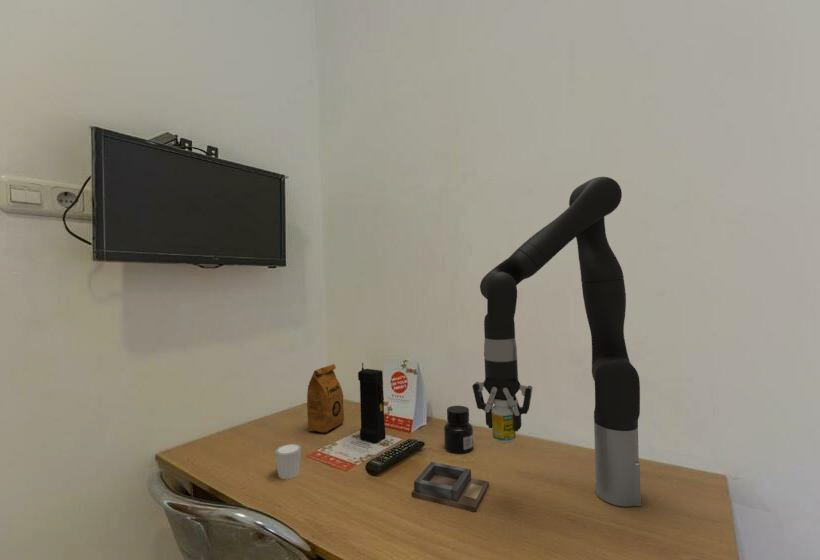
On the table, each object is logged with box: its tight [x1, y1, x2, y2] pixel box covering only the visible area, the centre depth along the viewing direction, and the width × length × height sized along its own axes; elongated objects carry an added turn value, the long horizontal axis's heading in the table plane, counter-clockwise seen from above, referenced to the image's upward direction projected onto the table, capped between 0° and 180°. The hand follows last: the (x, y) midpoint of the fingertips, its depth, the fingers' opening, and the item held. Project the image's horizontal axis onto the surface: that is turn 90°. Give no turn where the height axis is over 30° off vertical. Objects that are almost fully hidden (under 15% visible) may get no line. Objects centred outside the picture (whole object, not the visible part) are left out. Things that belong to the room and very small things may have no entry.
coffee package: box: [306, 363, 345, 433], centre depth 141 cm, size 10×12×22 cm
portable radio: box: [357, 362, 387, 444], centre depth 130 cm, size 8×6×25 cm
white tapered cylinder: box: [274, 443, 302, 480], centre depth 108 cm, size 7×7×7 cm
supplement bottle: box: [491, 399, 517, 444], centre depth 92 cm, size 5×5×10 cm
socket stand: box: [411, 461, 490, 512], centre depth 97 cm, size 16×12×4 cm
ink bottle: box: [443, 405, 474, 454], centre depth 122 cm, size 10×9×12 cm
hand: (503, 428), depth 92 cm, fingers closed on supplement bottle, 5 cm apart
